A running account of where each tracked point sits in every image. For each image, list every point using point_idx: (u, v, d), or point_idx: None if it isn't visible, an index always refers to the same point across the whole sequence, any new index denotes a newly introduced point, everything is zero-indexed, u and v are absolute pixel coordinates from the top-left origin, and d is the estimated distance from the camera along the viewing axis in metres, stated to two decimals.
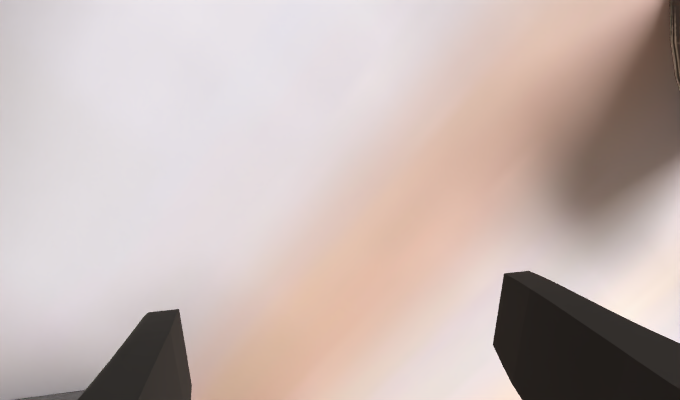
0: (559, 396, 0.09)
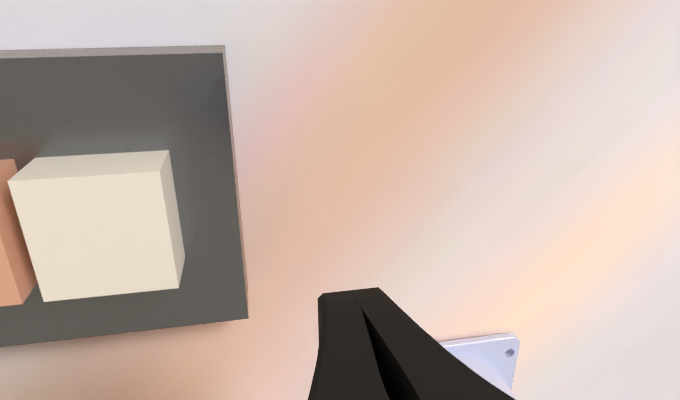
0: None
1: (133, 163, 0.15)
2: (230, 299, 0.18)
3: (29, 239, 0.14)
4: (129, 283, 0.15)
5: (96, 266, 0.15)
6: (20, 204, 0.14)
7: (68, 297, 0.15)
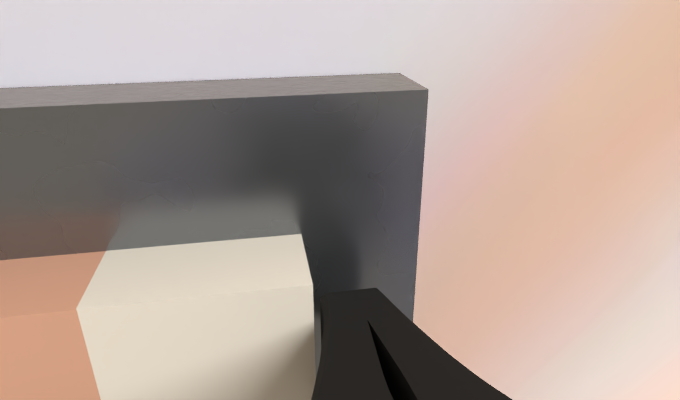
0: None
1: (261, 265, 0.09)
2: None
3: (104, 390, 0.09)
4: None
5: None
6: (94, 341, 0.09)
7: None
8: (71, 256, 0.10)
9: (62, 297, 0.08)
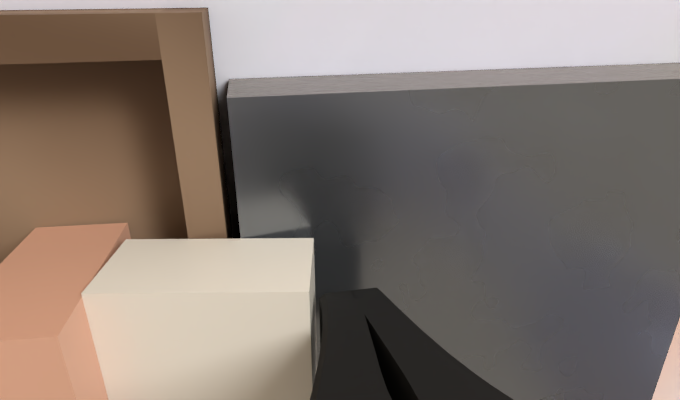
0: None
1: (264, 266, 0.09)
2: (641, 380, 0.15)
3: (107, 373, 0.09)
4: None
5: None
6: (98, 326, 0.09)
7: None
8: (74, 312, 0.08)
9: None
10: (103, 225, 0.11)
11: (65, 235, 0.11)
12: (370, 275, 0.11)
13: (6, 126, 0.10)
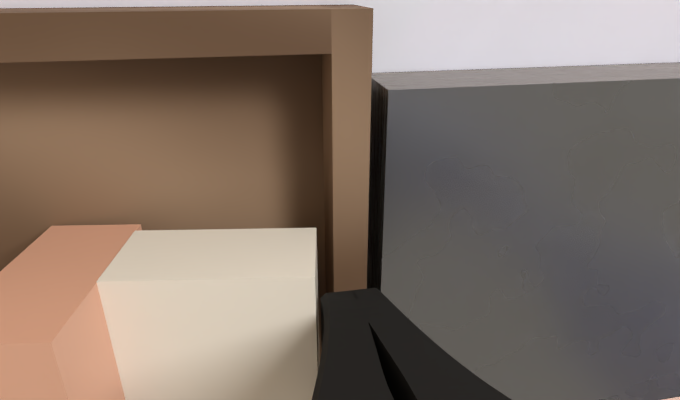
0: None
1: (271, 254, 0.10)
2: None
3: (120, 358, 0.10)
4: None
5: (209, 398, 0.10)
6: (112, 313, 0.09)
7: None
8: (72, 317, 0.08)
9: None
10: (116, 226, 0.11)
11: (79, 234, 0.11)
12: (496, 261, 0.12)
13: (164, 118, 0.11)
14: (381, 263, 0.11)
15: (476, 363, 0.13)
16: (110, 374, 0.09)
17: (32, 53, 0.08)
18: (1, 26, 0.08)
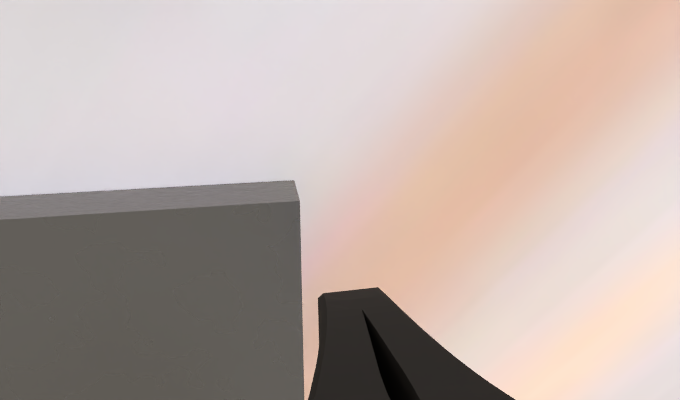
0: None
1: None
2: (290, 393, 0.21)
3: None
4: None
5: None
6: None
7: None
8: None
9: None
10: None
11: None
12: (49, 325, 0.18)
13: None
14: None
15: (64, 392, 0.19)
16: None
17: None
18: None
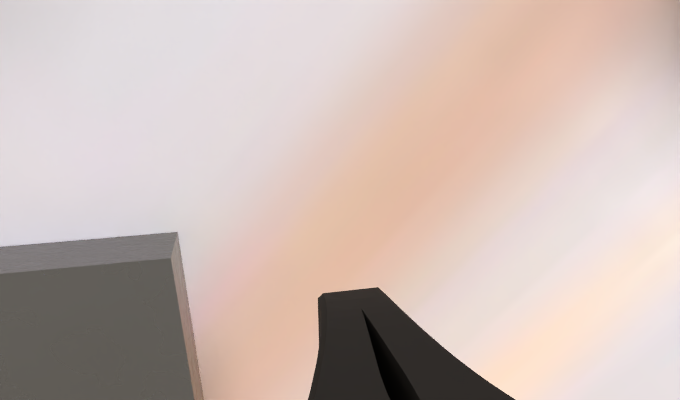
0: None
1: None
2: None
3: None
4: None
5: None
6: None
7: None
8: None
9: None
10: None
11: None
12: None
13: None
14: None
15: None
16: None
17: None
18: None
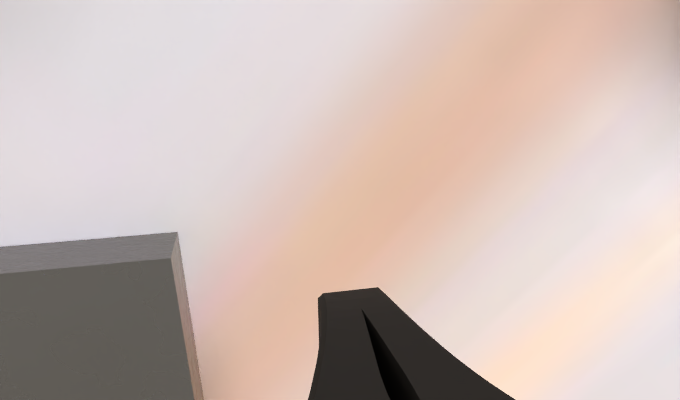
0: None
1: None
2: None
3: None
4: None
5: None
6: None
7: None
8: None
9: None
10: None
11: None
12: None
13: None
14: None
15: None
16: None
17: None
18: None
